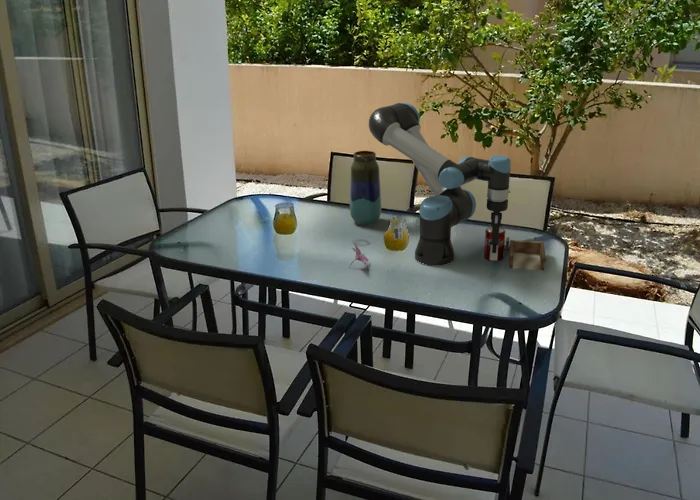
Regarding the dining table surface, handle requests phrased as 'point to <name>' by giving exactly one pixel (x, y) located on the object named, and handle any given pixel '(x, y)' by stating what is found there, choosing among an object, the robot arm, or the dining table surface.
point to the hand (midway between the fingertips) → (493, 253)
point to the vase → (365, 188)
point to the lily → (359, 255)
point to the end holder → (527, 255)
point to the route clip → (507, 244)
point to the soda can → (500, 246)
